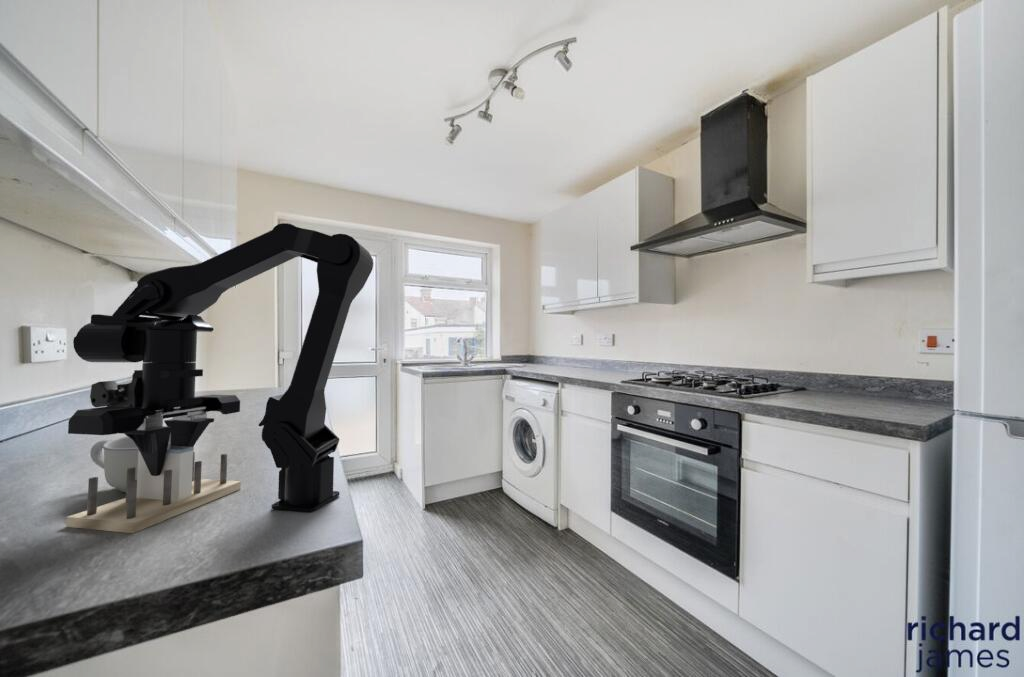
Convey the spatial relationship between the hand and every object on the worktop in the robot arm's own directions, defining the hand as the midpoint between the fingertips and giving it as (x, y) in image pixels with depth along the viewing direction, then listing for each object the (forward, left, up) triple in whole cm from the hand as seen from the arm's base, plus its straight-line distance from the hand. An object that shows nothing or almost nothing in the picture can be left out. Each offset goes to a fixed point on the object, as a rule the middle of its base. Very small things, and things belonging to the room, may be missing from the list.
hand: (165, 472), depth 54 cm
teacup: (+12, -6, -5) cm, 14 cm away
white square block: (0, 0, -3) cm, 3 cm away
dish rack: (0, 0, -5) cm, 5 cm away
